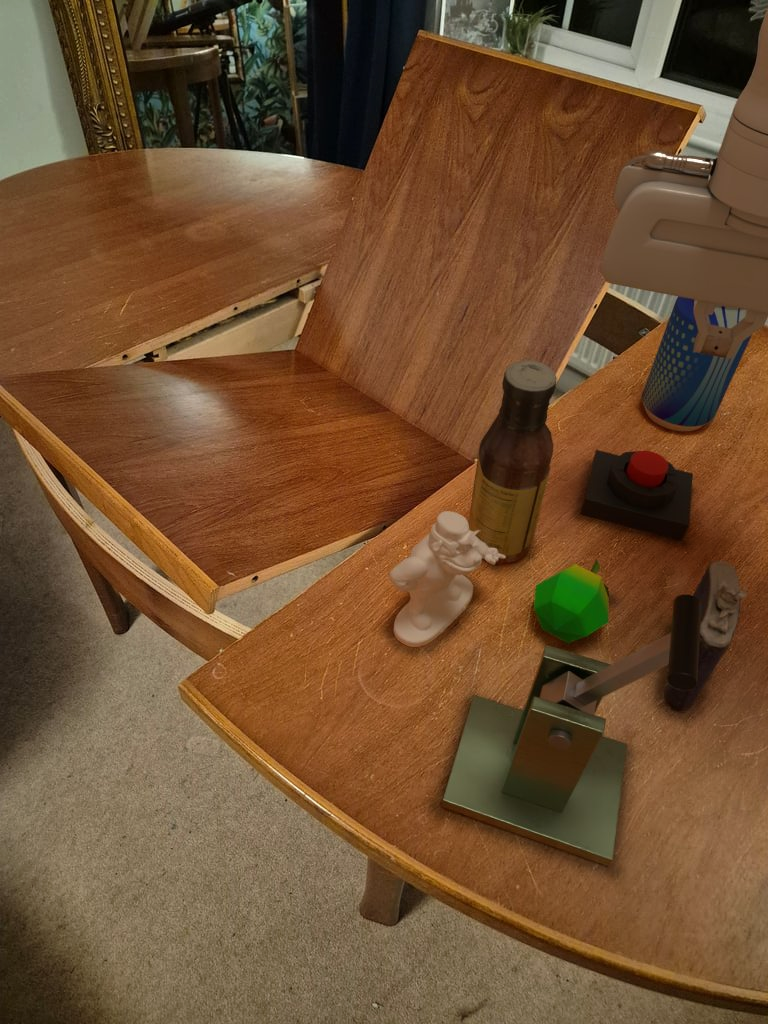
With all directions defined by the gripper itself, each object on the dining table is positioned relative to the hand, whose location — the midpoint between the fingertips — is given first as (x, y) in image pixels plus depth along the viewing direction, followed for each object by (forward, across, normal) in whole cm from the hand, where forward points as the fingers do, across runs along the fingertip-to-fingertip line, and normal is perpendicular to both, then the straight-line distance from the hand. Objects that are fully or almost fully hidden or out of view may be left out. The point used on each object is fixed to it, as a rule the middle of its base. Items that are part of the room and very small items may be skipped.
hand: (712, 352), depth 58 cm
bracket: (+21, -5, -28) cm, 36 cm away
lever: (+6, -1, -28) cm, 29 cm away
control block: (+21, -1, +5) cm, 21 cm away
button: (+17, -1, +5) cm, 18 cm away
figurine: (+21, -16, -16) cm, 31 cm away
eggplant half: (+21, +5, -14) cm, 26 cm away
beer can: (+21, +2, +22) cm, 30 cm away
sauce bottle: (+21, -13, -6) cm, 25 cm away
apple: (+21, -5, -12) cm, 25 cm away
